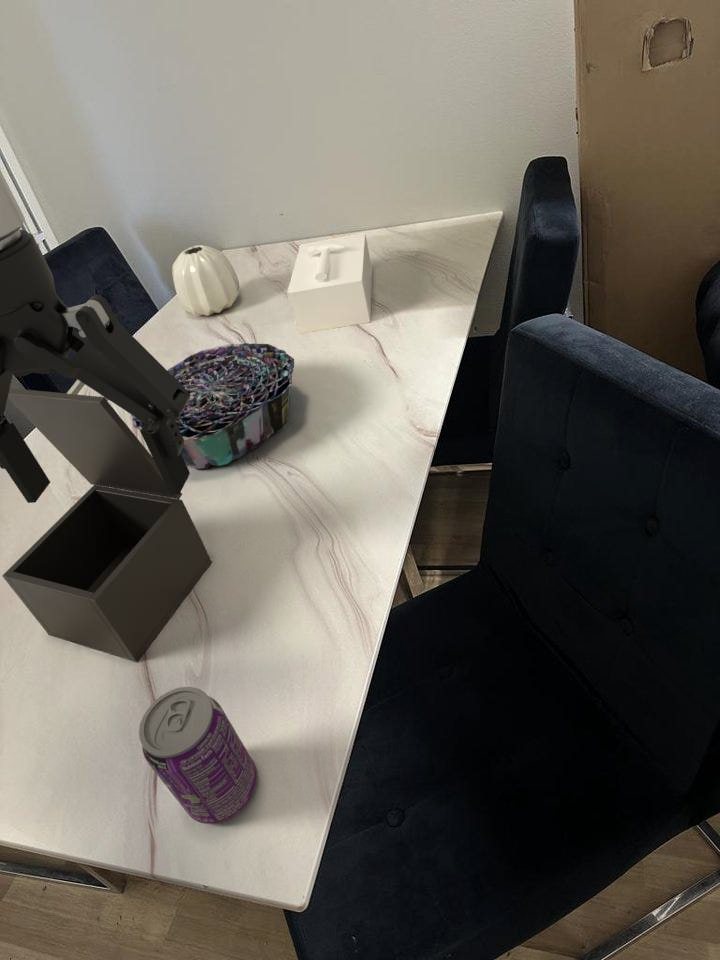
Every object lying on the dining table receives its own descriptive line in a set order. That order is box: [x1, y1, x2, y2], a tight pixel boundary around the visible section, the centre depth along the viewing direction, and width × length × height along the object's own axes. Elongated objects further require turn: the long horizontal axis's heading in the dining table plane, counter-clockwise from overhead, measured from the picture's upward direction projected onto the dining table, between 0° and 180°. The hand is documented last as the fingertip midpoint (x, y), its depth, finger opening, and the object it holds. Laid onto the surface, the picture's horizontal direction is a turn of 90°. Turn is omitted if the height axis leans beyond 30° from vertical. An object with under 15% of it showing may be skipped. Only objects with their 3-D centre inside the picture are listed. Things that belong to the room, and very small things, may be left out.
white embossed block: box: [286, 232, 373, 335], centre depth 136 cm, size 14×25×11 cm, turn 178°
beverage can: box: [138, 686, 258, 825], centre depth 58 cm, size 7×7×12 cm
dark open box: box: [1, 485, 213, 663], centre depth 80 cm, size 16×14×11 cm
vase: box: [171, 244, 240, 317], centre depth 145 cm, size 14×14×13 cm
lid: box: [7, 352, 183, 500], centre depth 78 cm, size 17×14×10 cm
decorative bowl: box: [131, 342, 295, 471], centre depth 107 cm, size 26×28×10 cm
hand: (108, 488), depth 57 cm, fingers open, 13 cm apart
